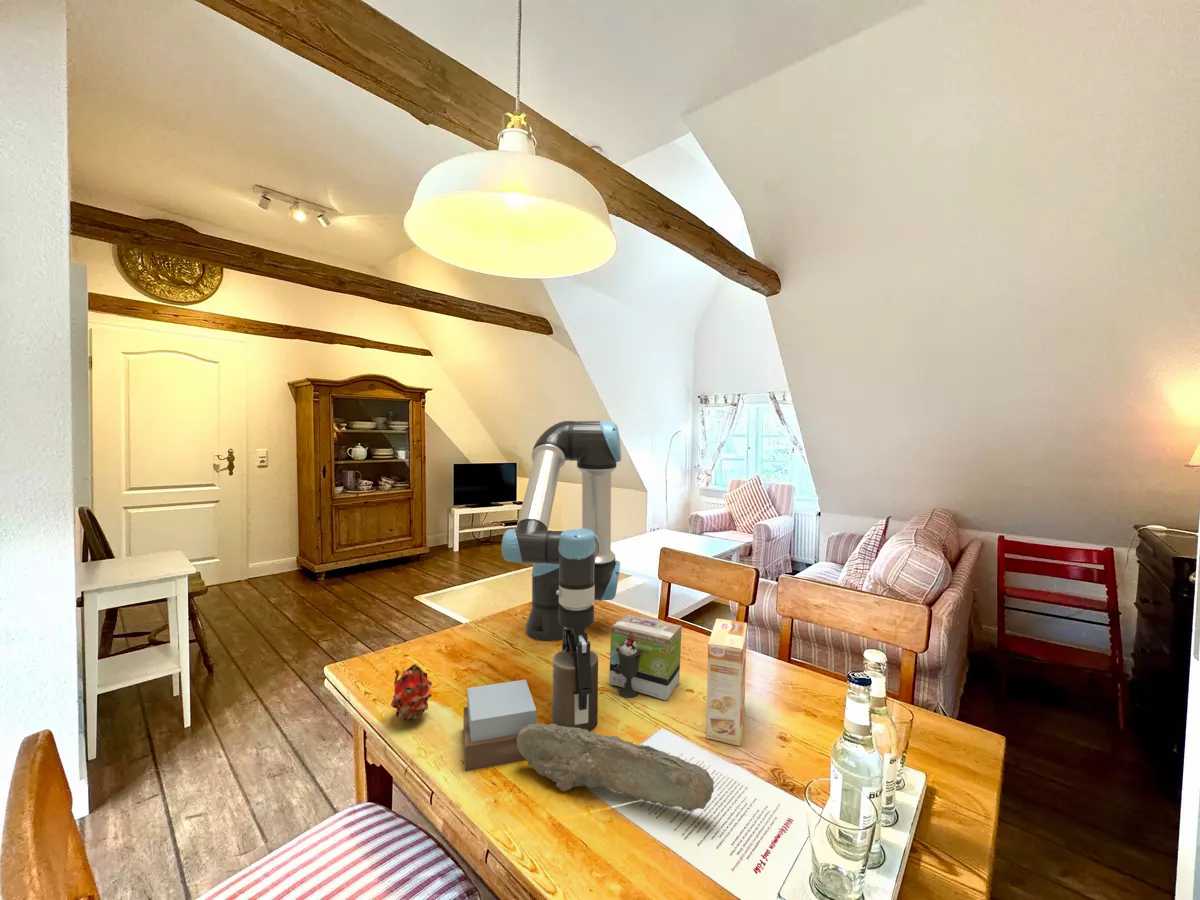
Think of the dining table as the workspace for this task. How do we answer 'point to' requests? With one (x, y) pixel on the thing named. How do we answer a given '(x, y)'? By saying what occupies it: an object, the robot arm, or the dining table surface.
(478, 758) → the walnut block
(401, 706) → the dragon fruit
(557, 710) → the pillar candle
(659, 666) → the tea box
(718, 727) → the coffeecake box
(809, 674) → the dining table surface
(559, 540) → the robot arm
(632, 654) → the sundae
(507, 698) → the slate block
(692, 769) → the long grey stone
